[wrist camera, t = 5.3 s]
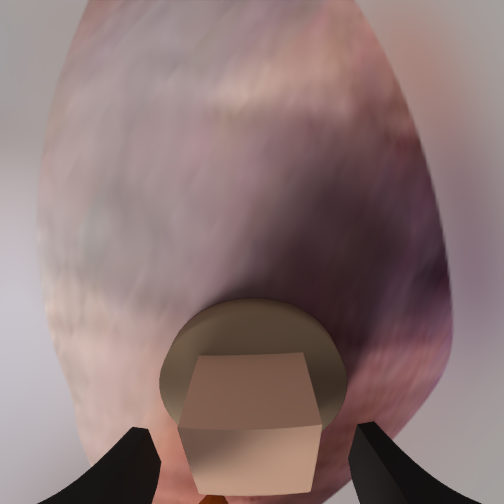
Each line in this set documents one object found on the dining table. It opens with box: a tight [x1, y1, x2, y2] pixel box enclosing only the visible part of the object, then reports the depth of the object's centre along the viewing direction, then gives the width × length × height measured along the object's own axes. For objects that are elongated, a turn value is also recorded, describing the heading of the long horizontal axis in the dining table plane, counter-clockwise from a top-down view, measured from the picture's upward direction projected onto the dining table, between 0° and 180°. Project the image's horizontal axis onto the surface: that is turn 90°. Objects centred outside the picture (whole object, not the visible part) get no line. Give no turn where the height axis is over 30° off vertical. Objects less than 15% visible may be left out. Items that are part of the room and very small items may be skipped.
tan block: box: [177, 352, 322, 496], centre depth 9 cm, size 4×4×4 cm
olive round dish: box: [159, 298, 347, 432], centre depth 12 cm, size 8×8×2 cm
